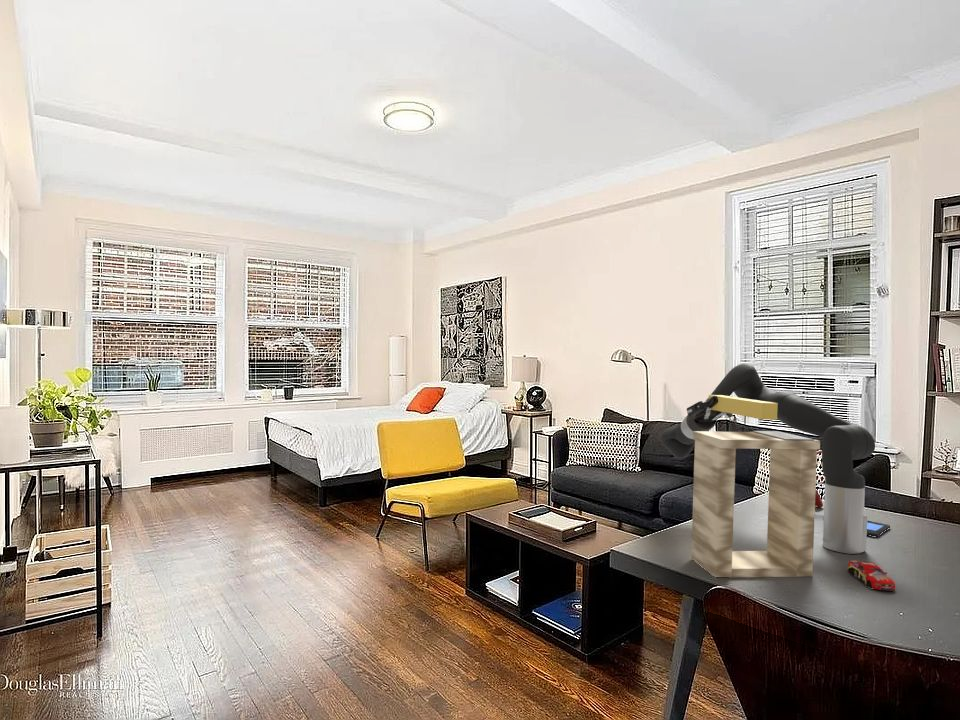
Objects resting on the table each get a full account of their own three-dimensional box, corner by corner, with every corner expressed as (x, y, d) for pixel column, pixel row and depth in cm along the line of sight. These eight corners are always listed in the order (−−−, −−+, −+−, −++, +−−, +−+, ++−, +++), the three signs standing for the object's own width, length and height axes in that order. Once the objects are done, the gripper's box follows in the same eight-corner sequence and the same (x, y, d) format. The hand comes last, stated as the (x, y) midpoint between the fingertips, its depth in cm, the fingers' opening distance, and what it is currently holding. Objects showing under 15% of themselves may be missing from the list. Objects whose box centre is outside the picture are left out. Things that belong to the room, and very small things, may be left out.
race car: (899, 595, 131) (900, 577, 131) (873, 593, 132) (873, 575, 132) (868, 572, 144) (868, 556, 144) (844, 571, 145) (844, 554, 145)
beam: (721, 409, 171) (721, 395, 171) (777, 419, 146) (777, 403, 146) (708, 408, 171) (708, 395, 171) (761, 419, 145) (762, 402, 145)
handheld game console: (876, 539, 172) (878, 507, 171) (825, 528, 181) (826, 498, 181) (891, 529, 182) (892, 499, 182) (841, 519, 192) (842, 490, 192)
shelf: (778, 557, 153) (783, 431, 153) (815, 577, 139) (820, 439, 139) (689, 558, 151) (693, 430, 150) (717, 579, 137) (721, 438, 136)
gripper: (673, 411, 182) (697, 385, 167) (717, 411, 184) (745, 386, 169) (677, 434, 178) (703, 410, 163) (722, 434, 180) (752, 411, 165)
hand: (724, 398), depth 166 cm, fingers closed on beam, 4 cm apart
